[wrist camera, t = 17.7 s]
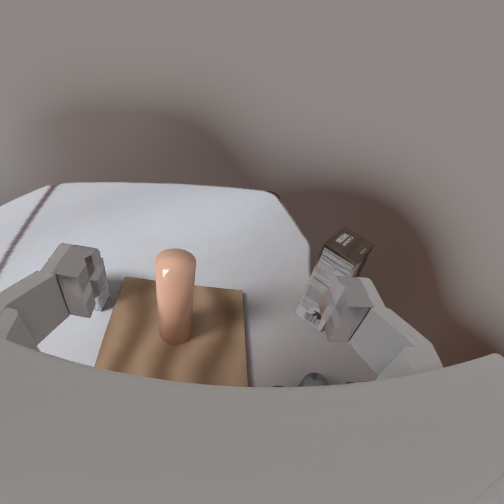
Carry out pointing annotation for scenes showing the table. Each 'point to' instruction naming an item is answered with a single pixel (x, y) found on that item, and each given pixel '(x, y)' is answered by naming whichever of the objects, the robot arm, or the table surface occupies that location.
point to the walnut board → (183, 355)
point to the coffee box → (333, 271)
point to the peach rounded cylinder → (175, 294)
